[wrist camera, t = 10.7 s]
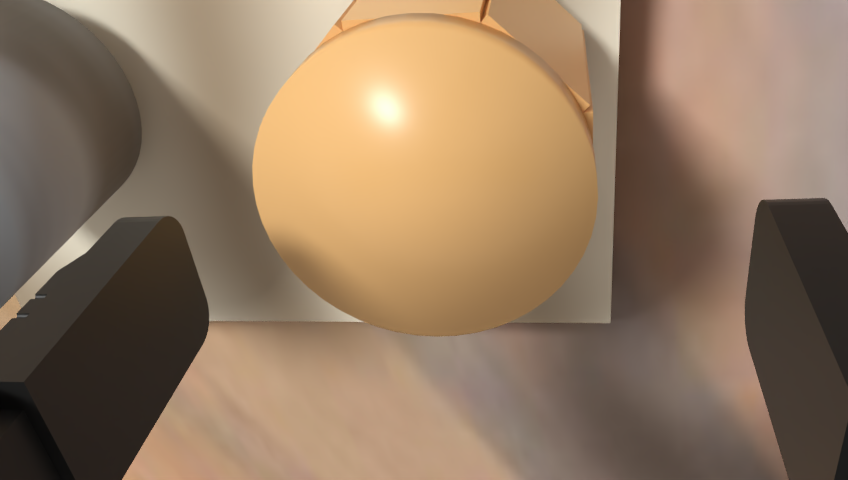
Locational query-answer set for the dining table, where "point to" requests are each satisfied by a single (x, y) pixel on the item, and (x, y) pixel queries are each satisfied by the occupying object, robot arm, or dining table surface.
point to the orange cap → (433, 162)
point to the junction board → (203, 141)
